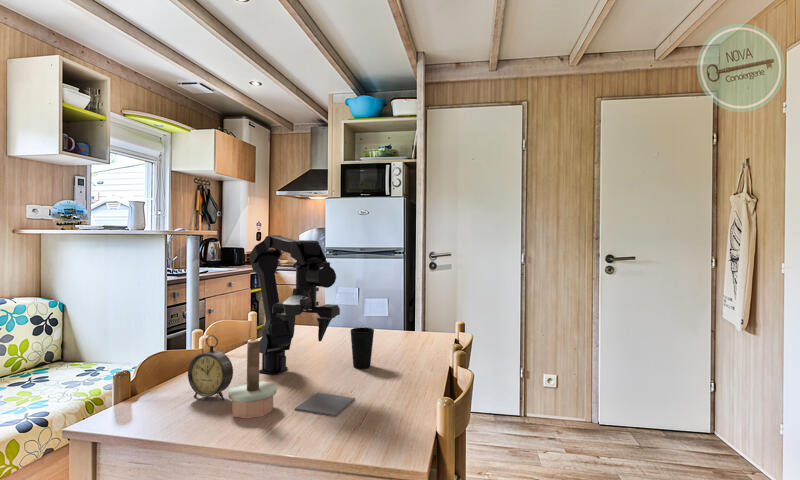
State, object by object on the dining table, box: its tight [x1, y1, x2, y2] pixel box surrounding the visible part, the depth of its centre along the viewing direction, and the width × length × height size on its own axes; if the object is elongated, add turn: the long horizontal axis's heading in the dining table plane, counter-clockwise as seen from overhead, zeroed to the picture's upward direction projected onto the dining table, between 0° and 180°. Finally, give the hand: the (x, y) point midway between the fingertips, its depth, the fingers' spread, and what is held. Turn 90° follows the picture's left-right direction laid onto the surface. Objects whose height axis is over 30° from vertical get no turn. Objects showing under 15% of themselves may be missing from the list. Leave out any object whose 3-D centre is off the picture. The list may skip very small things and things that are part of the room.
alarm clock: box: [187, 334, 234, 401], centre depth 108 cm, size 11×5×16 cm, turn 75°
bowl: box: [231, 395, 274, 419], centre depth 101 cm, size 9×9×4 cm
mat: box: [294, 392, 356, 417], centre depth 104 cm, size 11×11×1 cm
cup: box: [350, 326, 375, 370], centre depth 136 cm, size 8×8×12 cm
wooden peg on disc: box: [227, 339, 278, 402], centre depth 101 cm, size 11×11×12 cm
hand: (305, 339), depth 118 cm, fingers open, 9 cm apart
